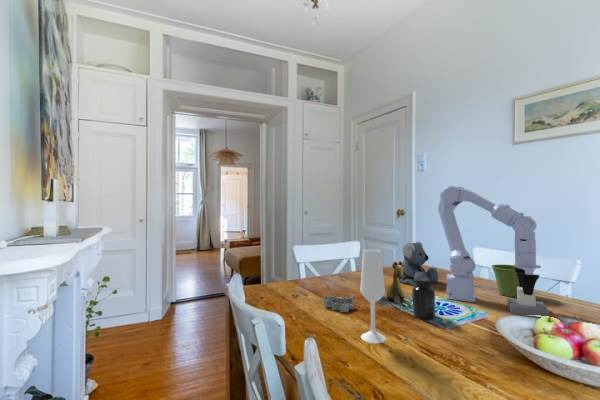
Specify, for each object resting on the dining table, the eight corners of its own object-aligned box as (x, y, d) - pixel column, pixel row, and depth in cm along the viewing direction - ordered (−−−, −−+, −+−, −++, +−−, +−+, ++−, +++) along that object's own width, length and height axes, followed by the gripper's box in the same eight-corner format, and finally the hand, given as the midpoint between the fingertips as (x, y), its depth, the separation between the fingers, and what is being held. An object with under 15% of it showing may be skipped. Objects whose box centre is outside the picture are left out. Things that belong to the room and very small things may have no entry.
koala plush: (424, 289, 128) (423, 244, 129) (387, 281, 141) (386, 241, 142) (440, 282, 140) (439, 241, 140) (405, 275, 153) (404, 238, 153)
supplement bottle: (434, 313, 99) (433, 277, 99) (436, 321, 92) (435, 282, 92) (412, 311, 101) (411, 276, 101) (413, 318, 94) (412, 281, 95)
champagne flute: (367, 330, 85) (366, 248, 86) (389, 336, 81) (388, 250, 82) (356, 338, 80) (355, 251, 81) (379, 345, 76) (378, 253, 77)
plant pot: (515, 290, 124) (514, 264, 124) (535, 299, 112) (534, 270, 112) (486, 290, 125) (485, 263, 125) (502, 299, 113) (501, 269, 113)
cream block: (518, 304, 99) (518, 289, 99) (517, 301, 103) (517, 286, 103) (535, 307, 97) (535, 291, 97) (533, 303, 100) (533, 288, 101)
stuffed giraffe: (382, 308, 105) (382, 263, 106) (372, 294, 123) (373, 256, 124) (427, 310, 104) (428, 265, 105) (411, 296, 122) (411, 258, 123)
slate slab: (511, 315, 98) (510, 306, 98) (507, 306, 106) (507, 297, 107) (549, 320, 93) (549, 311, 93) (542, 310, 102) (542, 302, 102)
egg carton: (356, 308, 105) (356, 297, 105) (344, 314, 99) (343, 302, 100) (333, 302, 112) (333, 291, 112) (320, 306, 107) (320, 295, 107)
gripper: (544, 255, 92) (546, 299, 92) (535, 249, 104) (536, 288, 104) (517, 254, 95) (518, 296, 95) (511, 248, 108) (512, 285, 108)
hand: (526, 291), depth 100 cm, fingers open, 7 cm apart
